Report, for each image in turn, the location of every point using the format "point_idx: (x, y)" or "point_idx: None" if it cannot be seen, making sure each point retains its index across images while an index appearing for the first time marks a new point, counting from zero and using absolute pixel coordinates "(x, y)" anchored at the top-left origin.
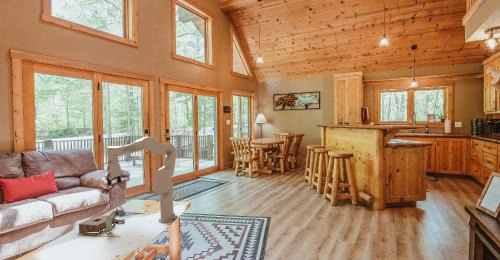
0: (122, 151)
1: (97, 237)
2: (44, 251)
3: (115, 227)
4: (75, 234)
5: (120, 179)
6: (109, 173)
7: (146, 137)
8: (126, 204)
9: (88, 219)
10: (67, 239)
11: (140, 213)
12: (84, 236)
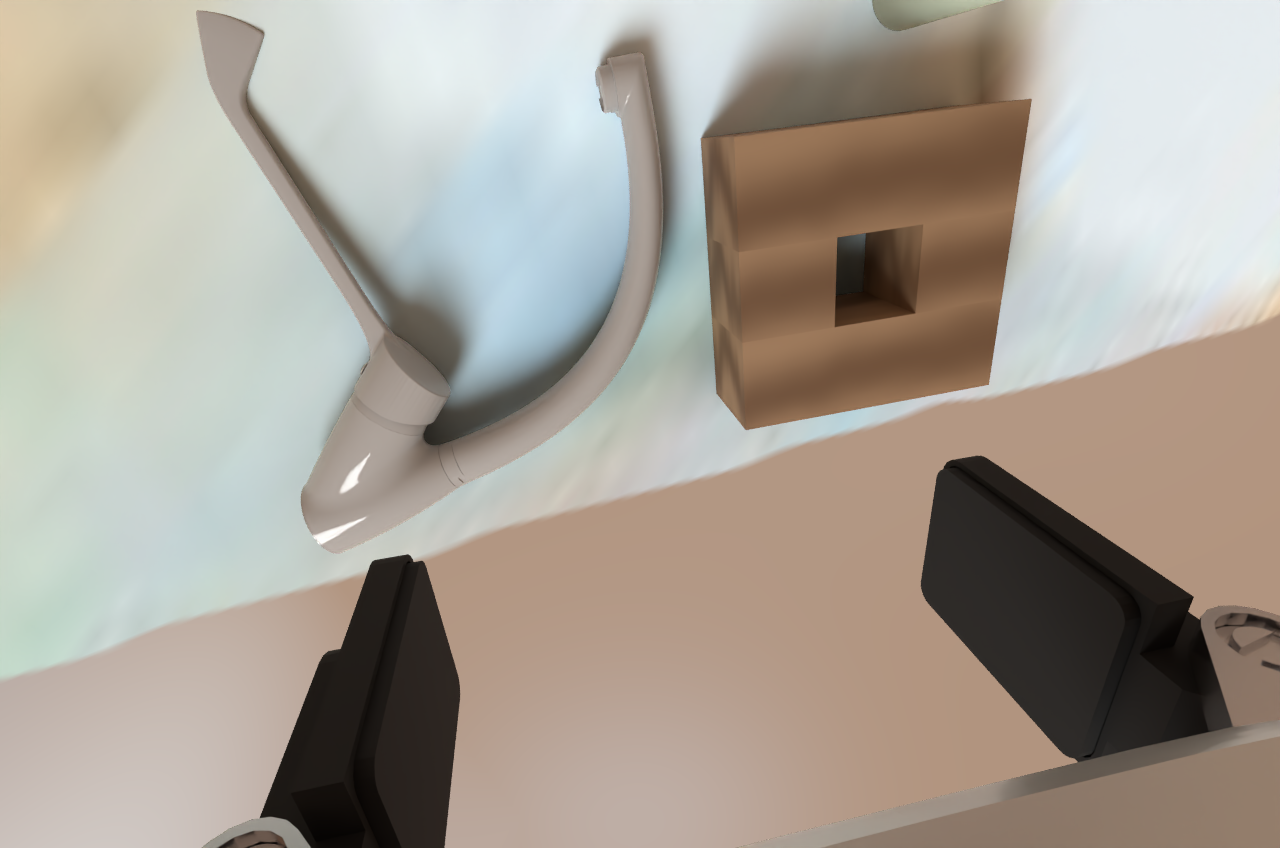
0: None
1: (1037, 8)
2: (1261, 254)
3: (771, 42)
4: None
5: (379, 657)
6: None
7: None
8: (116, 639)
9: (868, 405)
10: (1070, 300)
11: (243, 98)
12: None
